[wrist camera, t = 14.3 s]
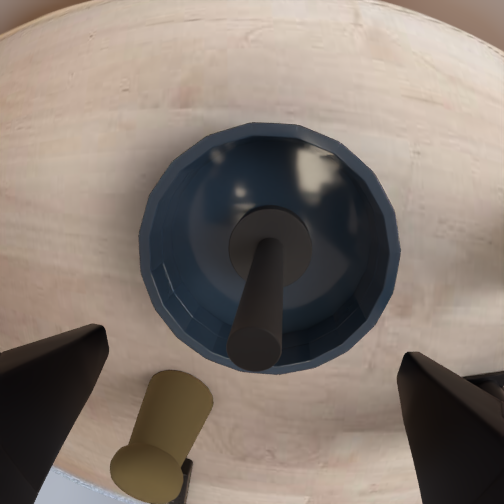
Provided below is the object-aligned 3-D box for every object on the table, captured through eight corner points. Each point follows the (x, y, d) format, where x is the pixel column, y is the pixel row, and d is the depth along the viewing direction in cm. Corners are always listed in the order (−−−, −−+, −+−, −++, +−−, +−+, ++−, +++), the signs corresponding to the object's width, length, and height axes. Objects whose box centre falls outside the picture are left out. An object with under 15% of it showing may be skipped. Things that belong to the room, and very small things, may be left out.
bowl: (386, 143, 18) (413, 139, 14) (359, 341, 22) (371, 377, 18) (167, 131, 19) (138, 124, 15) (170, 327, 23) (149, 359, 19)
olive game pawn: (146, 363, 25) (88, 455, 14) (215, 378, 24) (180, 486, 14) (150, 410, 27) (107, 496, 16) (211, 424, 26) (184, 520, 16)
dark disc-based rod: (313, 208, 19) (355, 276, 8) (305, 283, 21) (324, 415, 9) (233, 202, 20) (165, 261, 8) (230, 277, 21) (176, 400, 10)
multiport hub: (193, 460, 28) (188, 476, 26) (185, 507, 33) (181, 519, 30) (154, 448, 28) (148, 463, 26) (155, 498, 33) (151, 510, 31)
